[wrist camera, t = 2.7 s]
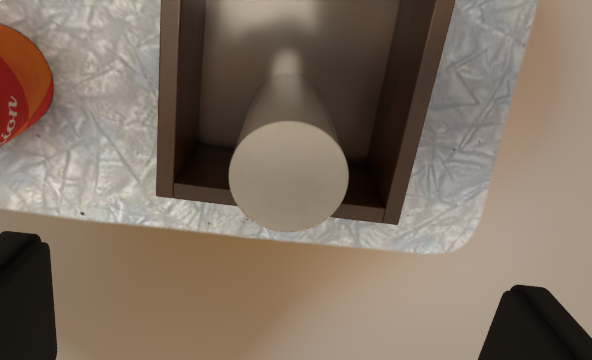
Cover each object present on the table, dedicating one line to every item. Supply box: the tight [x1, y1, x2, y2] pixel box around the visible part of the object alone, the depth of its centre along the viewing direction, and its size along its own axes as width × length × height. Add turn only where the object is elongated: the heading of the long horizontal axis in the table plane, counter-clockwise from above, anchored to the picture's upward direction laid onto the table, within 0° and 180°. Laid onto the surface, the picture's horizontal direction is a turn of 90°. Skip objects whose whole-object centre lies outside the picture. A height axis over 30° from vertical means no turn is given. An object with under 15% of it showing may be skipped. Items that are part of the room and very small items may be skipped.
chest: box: [156, 0, 455, 225], centre depth 22 cm, size 14×12×7 cm
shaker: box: [228, 74, 349, 232], centre depth 21 cm, size 4×4×10 cm
